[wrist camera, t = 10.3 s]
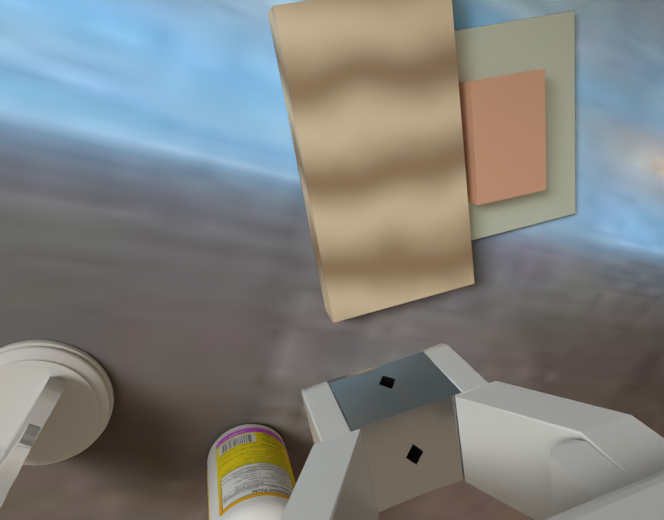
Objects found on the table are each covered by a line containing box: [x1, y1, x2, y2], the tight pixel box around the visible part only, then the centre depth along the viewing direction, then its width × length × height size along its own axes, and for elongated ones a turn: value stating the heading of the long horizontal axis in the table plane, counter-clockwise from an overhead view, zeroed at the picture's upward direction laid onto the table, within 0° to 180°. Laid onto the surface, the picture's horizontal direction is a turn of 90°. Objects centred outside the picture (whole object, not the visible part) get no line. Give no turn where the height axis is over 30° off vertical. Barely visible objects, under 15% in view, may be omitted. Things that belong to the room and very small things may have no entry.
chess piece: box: [0, 340, 114, 508], centre depth 29 cm, size 10×10×15 cm
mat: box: [454, 11, 575, 240], centre depth 39 cm, size 16×11×1 cm
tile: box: [459, 69, 546, 205], centre depth 37 cm, size 9×6×2 cm, turn 9°
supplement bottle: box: [207, 424, 296, 520], centre depth 36 cm, size 7×7×13 cm
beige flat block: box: [268, 0, 475, 323], centre depth 36 cm, size 22×12×2 cm, turn 10°
